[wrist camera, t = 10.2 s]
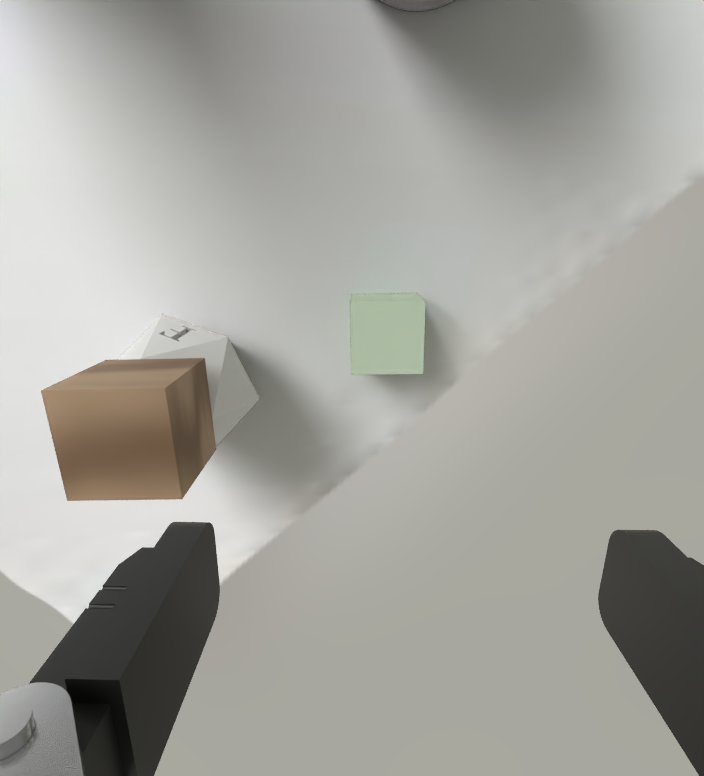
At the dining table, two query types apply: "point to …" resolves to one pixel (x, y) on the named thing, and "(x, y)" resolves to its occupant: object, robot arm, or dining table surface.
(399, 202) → the dining table surface
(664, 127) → the dining table surface
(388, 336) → the green block
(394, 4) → the grey upright cylinder
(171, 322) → the die
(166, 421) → the walnut block
